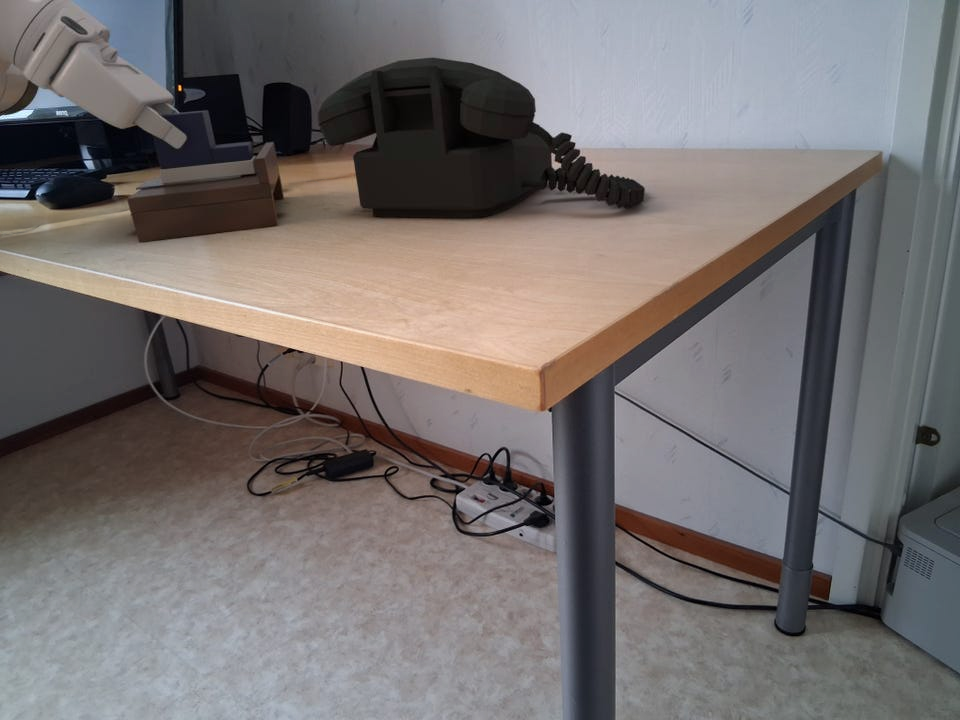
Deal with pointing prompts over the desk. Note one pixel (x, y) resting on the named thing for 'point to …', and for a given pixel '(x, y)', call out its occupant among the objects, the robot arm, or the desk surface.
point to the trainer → (201, 152)
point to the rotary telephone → (455, 142)
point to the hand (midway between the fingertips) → (190, 140)
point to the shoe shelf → (208, 203)
